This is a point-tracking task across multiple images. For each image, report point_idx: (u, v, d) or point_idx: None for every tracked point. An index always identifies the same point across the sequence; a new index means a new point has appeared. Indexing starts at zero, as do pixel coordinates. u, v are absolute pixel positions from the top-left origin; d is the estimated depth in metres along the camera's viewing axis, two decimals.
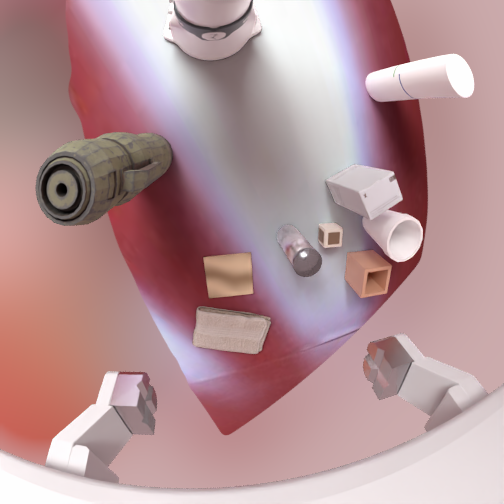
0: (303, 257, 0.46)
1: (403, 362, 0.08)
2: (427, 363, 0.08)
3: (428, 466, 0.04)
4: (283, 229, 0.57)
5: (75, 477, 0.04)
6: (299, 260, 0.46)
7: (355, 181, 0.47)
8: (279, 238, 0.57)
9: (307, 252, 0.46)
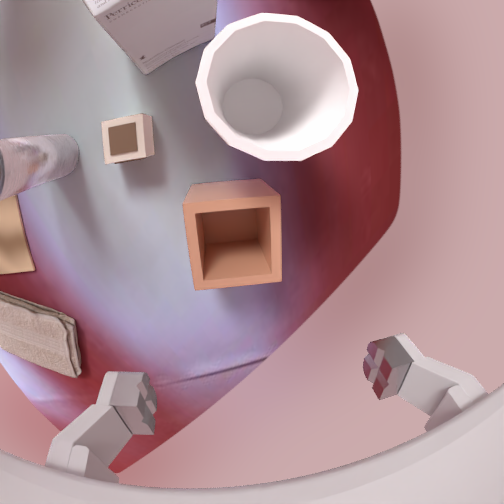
0: None
1: (403, 362, 0.08)
2: (426, 363, 0.08)
3: (428, 466, 0.04)
4: None
5: (75, 477, 0.04)
6: None
7: None
8: None
9: None
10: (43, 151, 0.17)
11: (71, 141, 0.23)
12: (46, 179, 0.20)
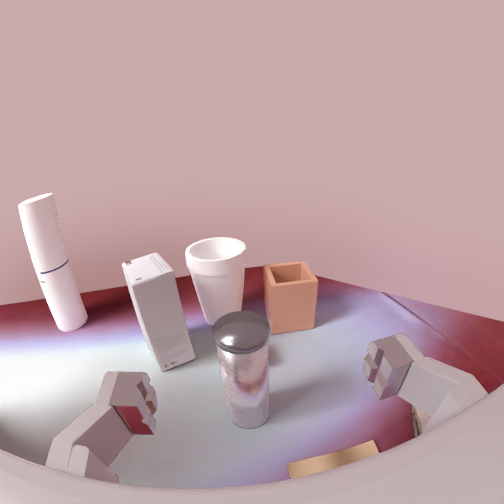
0: (227, 334, 0.24)
1: (403, 362, 0.08)
2: (426, 363, 0.08)
3: (428, 466, 0.04)
4: (231, 415, 0.28)
5: (75, 477, 0.04)
6: (233, 339, 0.23)
7: (137, 310, 0.34)
8: (245, 417, 0.27)
9: (217, 330, 0.24)
10: None
11: None
12: None
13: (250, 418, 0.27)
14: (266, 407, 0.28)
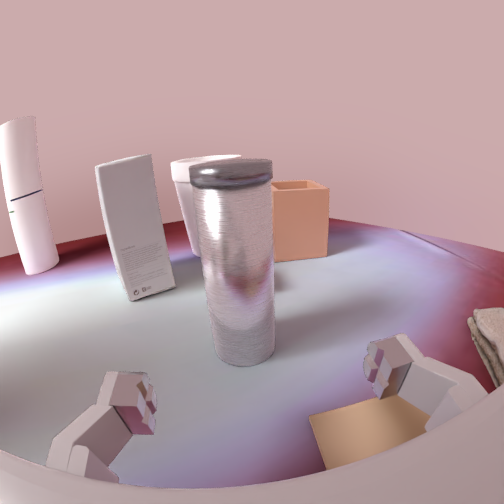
0: (209, 165, 0.15)
1: (403, 362, 0.08)
2: (427, 363, 0.08)
3: (428, 466, 0.04)
4: (218, 342, 0.20)
5: (75, 477, 0.04)
6: (217, 166, 0.15)
7: (103, 211, 0.26)
8: (238, 340, 0.19)
9: (195, 166, 0.16)
10: None
11: None
12: None
13: (246, 342, 0.19)
14: (271, 324, 0.20)
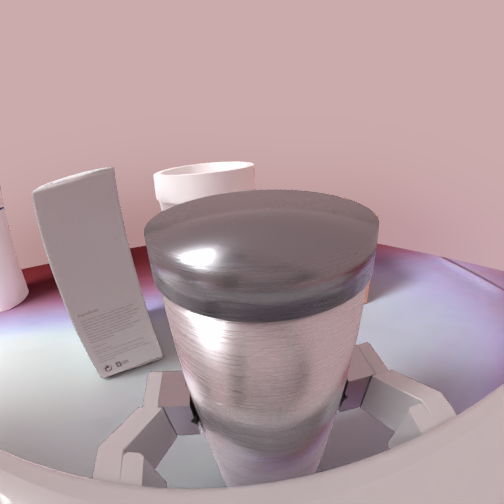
0: (202, 229, 0.05)
1: (362, 375, 0.08)
2: (389, 377, 0.07)
3: (428, 466, 0.04)
4: None
5: (75, 477, 0.04)
6: (228, 241, 0.05)
7: None
8: None
9: (164, 223, 0.06)
10: None
11: None
12: None
13: None
14: (316, 470, 0.09)
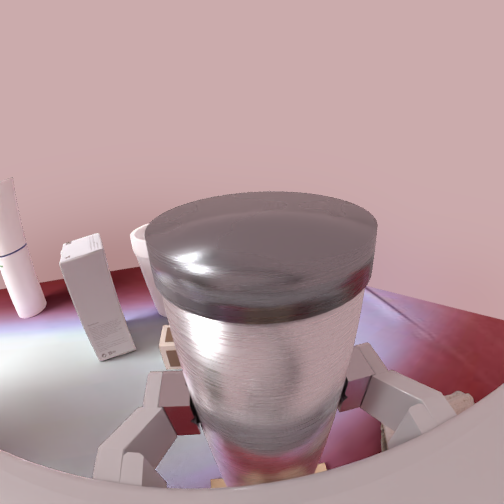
0: (201, 231, 0.05)
1: (362, 375, 0.08)
2: (389, 377, 0.07)
3: (428, 466, 0.04)
4: None
5: (75, 477, 0.04)
6: (227, 244, 0.05)
7: None
8: None
9: (165, 226, 0.06)
10: None
11: None
12: None
13: None
14: (315, 470, 0.09)
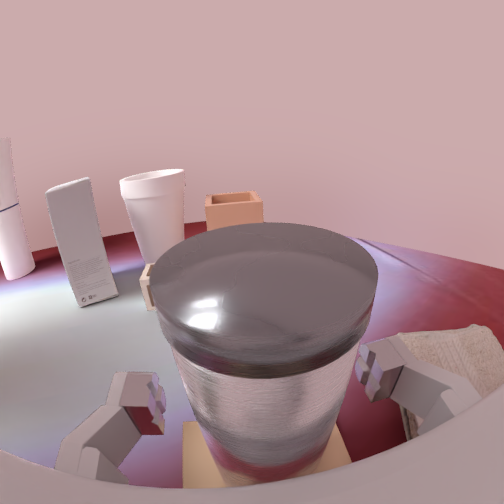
0: (206, 284, 0.05)
1: (395, 365, 0.08)
2: (419, 366, 0.07)
3: (428, 466, 0.04)
4: None
5: (75, 477, 0.04)
6: (232, 303, 0.05)
7: None
8: None
9: (168, 272, 0.06)
10: None
11: None
12: None
13: None
14: None
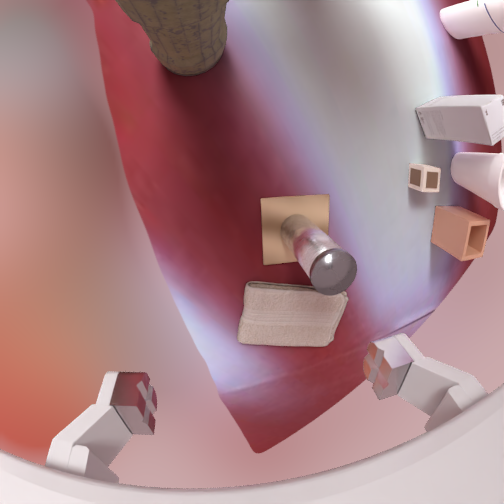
0: (329, 264, 0.27)
1: (403, 362, 0.08)
2: (427, 363, 0.07)
3: (428, 466, 0.04)
4: (291, 221, 0.38)
5: (75, 477, 0.04)
6: (321, 269, 0.27)
7: (464, 102, 0.26)
8: (285, 234, 0.38)
9: (335, 256, 0.27)
10: None
11: None
12: None
13: (284, 237, 0.38)
14: None
